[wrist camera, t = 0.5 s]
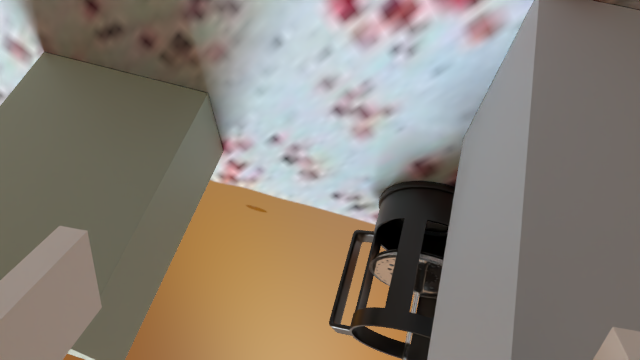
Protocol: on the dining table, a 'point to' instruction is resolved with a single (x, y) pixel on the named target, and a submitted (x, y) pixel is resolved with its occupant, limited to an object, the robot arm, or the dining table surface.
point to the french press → (399, 269)
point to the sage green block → (104, 180)
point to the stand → (548, 195)
